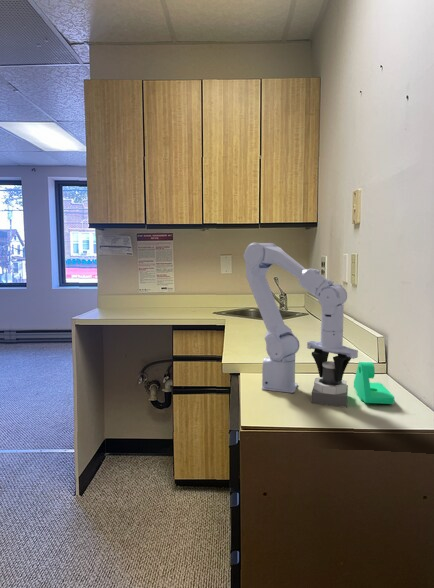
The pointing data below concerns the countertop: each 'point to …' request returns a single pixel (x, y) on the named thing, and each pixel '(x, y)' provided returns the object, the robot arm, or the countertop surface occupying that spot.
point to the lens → (329, 373)
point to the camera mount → (370, 386)
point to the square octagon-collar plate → (330, 393)
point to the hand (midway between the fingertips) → (330, 378)
